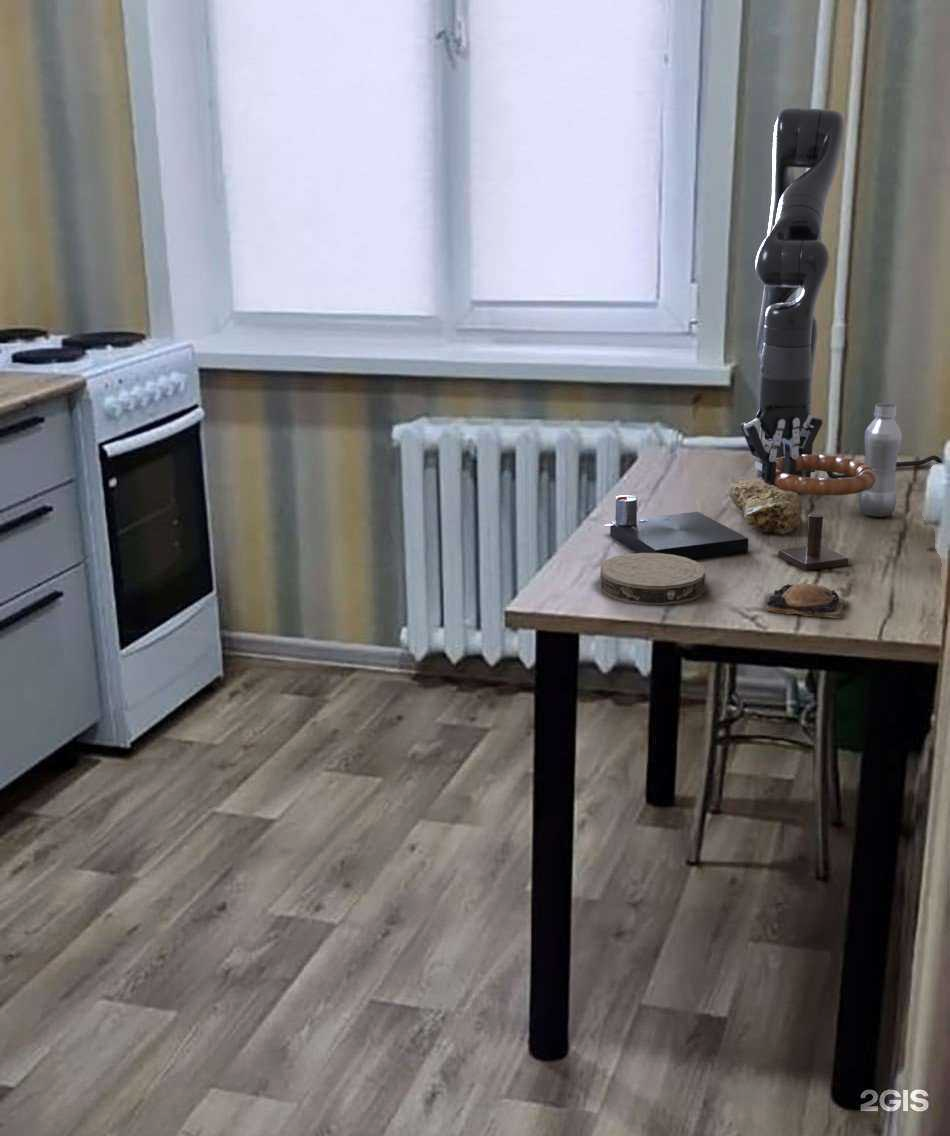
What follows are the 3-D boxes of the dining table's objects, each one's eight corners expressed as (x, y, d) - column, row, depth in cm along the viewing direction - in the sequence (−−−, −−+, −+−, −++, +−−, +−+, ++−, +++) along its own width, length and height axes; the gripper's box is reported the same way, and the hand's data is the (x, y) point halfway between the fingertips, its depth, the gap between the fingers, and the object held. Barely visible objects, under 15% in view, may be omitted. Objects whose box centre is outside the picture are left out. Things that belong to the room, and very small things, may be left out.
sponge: (805, 543, 233) (806, 490, 250) (799, 503, 229) (800, 452, 246) (727, 552, 237) (733, 499, 254) (721, 512, 233) (727, 461, 250)
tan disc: (707, 574, 215) (708, 556, 214) (700, 608, 200) (701, 589, 199) (607, 567, 218) (607, 549, 217) (592, 601, 203) (593, 582, 202)
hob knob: (630, 519, 235) (631, 492, 233) (640, 525, 231) (641, 497, 230) (611, 521, 234) (612, 494, 232) (620, 527, 230) (621, 499, 229)
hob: (692, 522, 242) (693, 507, 241) (747, 552, 225) (748, 537, 224) (595, 533, 236) (595, 519, 235) (644, 566, 219) (645, 550, 218)
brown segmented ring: (833, 464, 227) (834, 449, 226) (898, 491, 211) (899, 474, 211) (741, 474, 221) (742, 458, 220) (801, 502, 206) (802, 485, 205)
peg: (819, 551, 225) (823, 506, 223) (848, 565, 218) (852, 519, 216) (777, 556, 223) (780, 511, 220) (805, 571, 216) (808, 524, 213)
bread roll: (845, 602, 202) (847, 579, 201) (838, 621, 195) (840, 597, 194) (773, 593, 206) (775, 570, 205) (763, 612, 198) (765, 588, 197)
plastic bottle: (895, 511, 247) (906, 402, 240) (893, 522, 241) (904, 410, 234) (858, 508, 249) (868, 400, 242) (856, 519, 243) (865, 408, 236)
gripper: (758, 381, 203) (751, 493, 208) (838, 374, 207) (829, 484, 213) (732, 372, 209) (726, 481, 215) (810, 365, 214) (803, 472, 219)
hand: (778, 482), depth 214 cm, fingers closed on brown segmented ring, 2 cm apart
